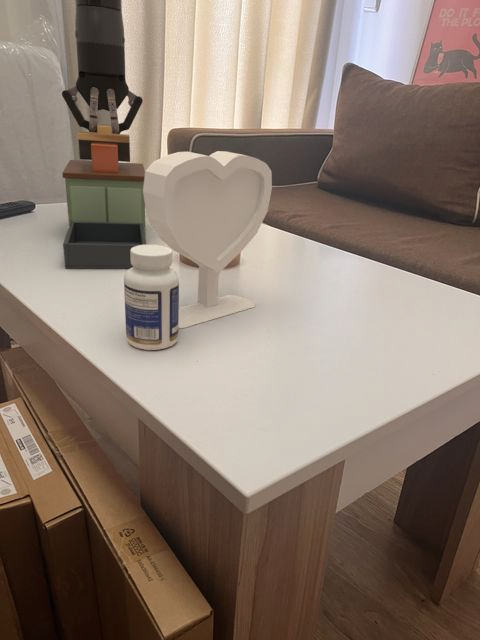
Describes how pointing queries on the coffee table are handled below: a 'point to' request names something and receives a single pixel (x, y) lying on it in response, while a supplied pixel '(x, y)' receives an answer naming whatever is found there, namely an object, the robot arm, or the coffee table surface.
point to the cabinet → (105, 193)
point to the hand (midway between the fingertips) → (105, 154)
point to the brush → (104, 137)
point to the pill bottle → (151, 298)
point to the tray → (101, 244)
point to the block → (104, 157)
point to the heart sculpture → (207, 218)
